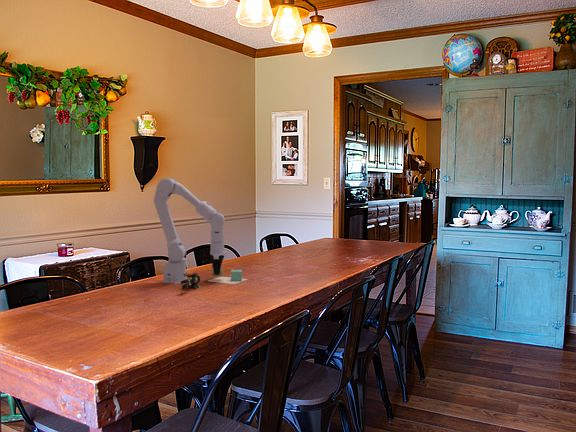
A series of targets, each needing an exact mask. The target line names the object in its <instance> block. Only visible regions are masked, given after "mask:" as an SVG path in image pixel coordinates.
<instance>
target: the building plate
mask: <svg viewBox="0 0 576 432" xmlns="http://www.w3.org/2000/svg"><path fill="white" fill-rule="evenodd" d="M244 281H248V278H242V281H231V276H217V277H215V278H212V279H209V280H208V282H210V283H212V282H213V283H219V284H220V283H221V284H230V285H236V284H239V283H241V282H244Z"/></svg>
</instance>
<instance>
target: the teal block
mask: <svg viewBox="0 0 576 432" xmlns="http://www.w3.org/2000/svg"><path fill="white" fill-rule="evenodd" d="M230 278H231V281H242V279H243V270H242V269H230ZM242 282H243V281H242Z"/></svg>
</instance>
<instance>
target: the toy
mask: <svg viewBox="0 0 576 432" xmlns="http://www.w3.org/2000/svg"><path fill="white" fill-rule="evenodd" d="M183 274H184V273H183ZM184 276H186V280H183V281H181V283H180V284H181V290H186V289H189V288H192V289H193V290H195V291H196V290H198V289H200V288H201V287H202V286H201V285H198V284H199V283H200V282H201V277H200V275H198V272H194V273H191V274H189V273H187V272H186V273H185V274H184Z"/></svg>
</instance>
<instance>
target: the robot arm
mask: <svg viewBox="0 0 576 432" xmlns="http://www.w3.org/2000/svg"><path fill="white" fill-rule="evenodd" d="M171 195H177V196H178V195H179V196H181V197H182V198H183V199H185V200H186V201H187V202H189V203H190V204H191V205H192V206H193V207H195V212H196V213H197V214H198V215H199V216H201V217H202V218H203V219H204V220H206V221H207V222H208V221H209V224H210V252H209V254H210V258H209V260H210V262H211V265H212V266H213V271H214V275H219V274H220V269H221V265H223V261H224V259H225V255H226V254H228V251H225V226H224V224H225V220H226V219H225V216H224V215H223V213H221V212H219V210H218V209H215V208H214V207H213V206H212V205H211V203H210V202H209V201H205V200H200V199H198V197H197V196H195V195H194V194H193V193H192V192H191V191H190V190H189V189H188V188H186V187H185V186H184V185H183V184H182V183H180V182H177V180H175V179H174V178H171V177H170V178H168V177H166V178H162V179H160V180H159V182H158V183H157V184H156V190H155V194H154V198H153V203H154V207H155V208H156V209H155V210H156V212H157V215H158V218H159V222H160V224H161V227H162V230H163V233H164V235H165V239H166V247H167V257H168V262H167V263H165V264H164V266H163V269H162V270H163V272H162V273H163V281H162V282H161V283H162V284H169V283H170V284H181V281H183V280H186V279H187V276H184V274H185V273H187V259H186V258H185V256H186V255H187V248H186V246H184V244H183V243H182V241H181V239H180V237H179V235H178V232H177V229H176V226H175V222H174V220H173V217H172V213H171V212H170V211H171V210H170V208H169V205H168V201H169V199H170V197H171ZM212 266H211V267H212ZM183 273H184V274H183Z"/></svg>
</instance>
